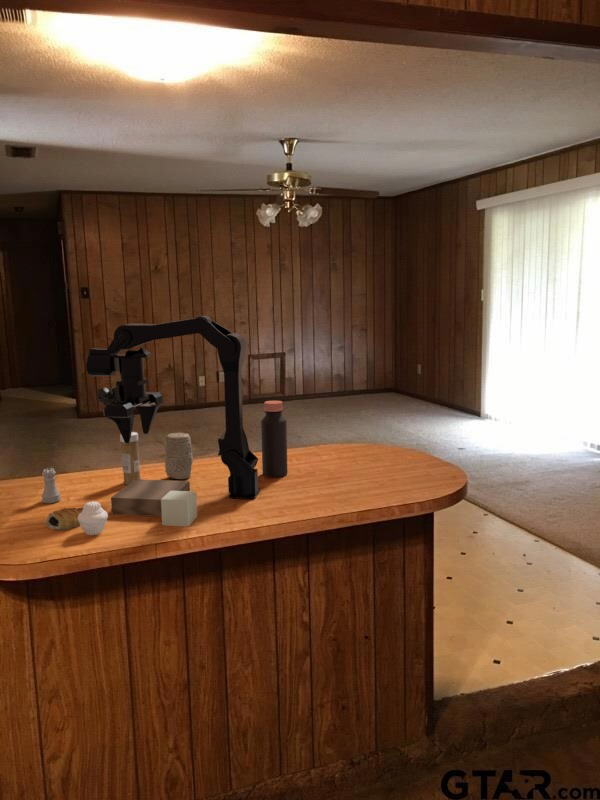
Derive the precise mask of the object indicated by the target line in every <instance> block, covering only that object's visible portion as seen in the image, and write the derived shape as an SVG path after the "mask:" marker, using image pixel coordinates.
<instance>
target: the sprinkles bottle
mask: <svg viewBox="0 0 600 800" xmlns="http://www.w3.org/2000/svg"><path fill="white" fill-rule="evenodd" d="M119 440H120V445H121V463H122V465H121V466H122V472H123V485H126V486H127V485H128V484H130V483H131V482H132V481H134V480H135V479H141V468H140V465H141V464H140V454H139V433H138V432H136V431H132V433H131V438H130V442H129V443H125V442H124V440H123V437H122V435H121V433H120V434H119Z"/></svg>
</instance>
